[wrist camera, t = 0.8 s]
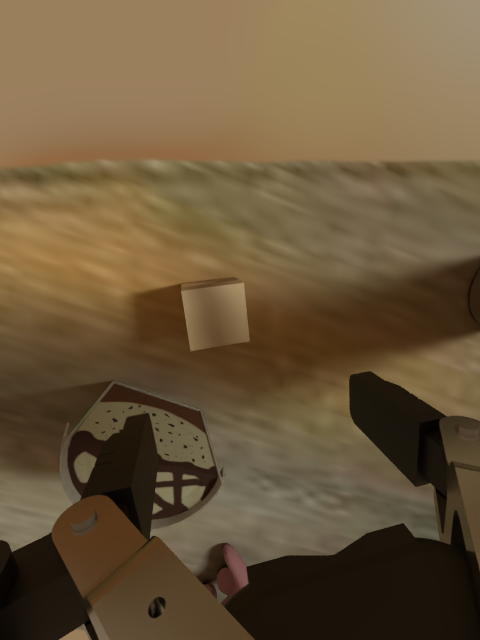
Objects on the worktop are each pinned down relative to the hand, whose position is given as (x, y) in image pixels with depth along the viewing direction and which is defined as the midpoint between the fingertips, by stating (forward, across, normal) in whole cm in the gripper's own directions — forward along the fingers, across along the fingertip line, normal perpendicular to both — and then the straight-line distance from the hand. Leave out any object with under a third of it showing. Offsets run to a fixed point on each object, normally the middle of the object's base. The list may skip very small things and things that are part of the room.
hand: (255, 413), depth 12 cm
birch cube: (+18, 0, -1) cm, 18 cm away
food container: (+18, +8, +10) cm, 22 cm away
